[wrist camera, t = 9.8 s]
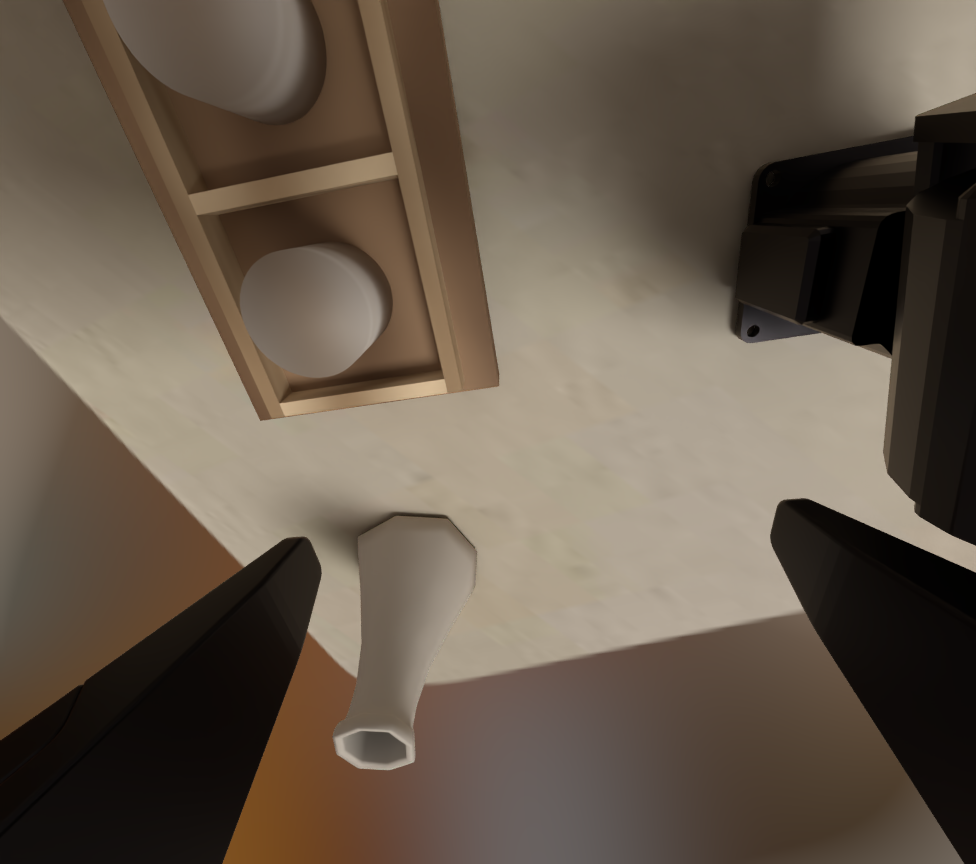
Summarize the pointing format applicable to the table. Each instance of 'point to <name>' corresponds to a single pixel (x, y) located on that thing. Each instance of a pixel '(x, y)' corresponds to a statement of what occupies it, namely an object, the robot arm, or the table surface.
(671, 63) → the table surface
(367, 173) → the socket tray
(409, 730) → the flask
